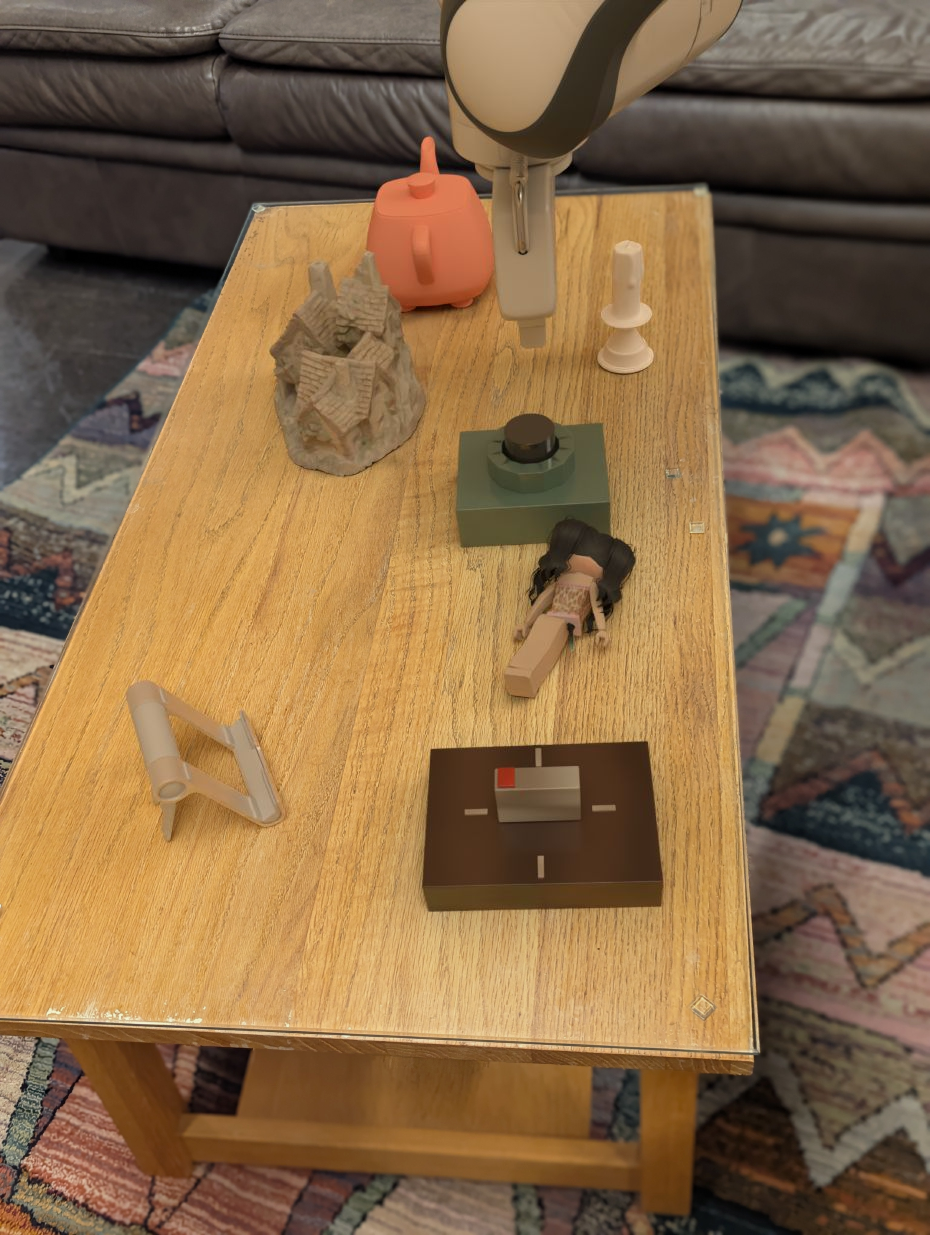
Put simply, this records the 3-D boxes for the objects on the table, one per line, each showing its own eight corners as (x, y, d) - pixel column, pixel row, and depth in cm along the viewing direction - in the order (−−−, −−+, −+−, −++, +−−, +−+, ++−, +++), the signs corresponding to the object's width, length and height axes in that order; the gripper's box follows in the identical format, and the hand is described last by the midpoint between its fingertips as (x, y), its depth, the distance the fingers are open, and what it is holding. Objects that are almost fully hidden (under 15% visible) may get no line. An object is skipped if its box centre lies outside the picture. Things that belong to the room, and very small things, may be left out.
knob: (554, 432, 87) (554, 411, 85) (556, 463, 84) (555, 442, 83) (505, 435, 87) (503, 414, 86) (505, 466, 85) (503, 446, 83)
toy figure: (595, 715, 75) (644, 560, 83) (581, 658, 70) (635, 501, 79) (498, 702, 77) (556, 553, 86) (479, 646, 73) (542, 495, 82)
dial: (580, 798, 66) (578, 762, 64) (581, 820, 65) (580, 785, 62) (498, 800, 67) (494, 765, 64) (498, 822, 66) (493, 788, 63)
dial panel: (646, 767, 71) (648, 739, 69) (661, 906, 64) (663, 880, 62) (435, 774, 72) (430, 746, 70) (428, 912, 65) (421, 886, 63)
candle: (653, 341, 104) (657, 224, 95) (654, 373, 100) (658, 255, 92) (597, 343, 105) (596, 226, 96) (596, 375, 101) (595, 257, 92)
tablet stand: (288, 819, 71) (258, 744, 65) (173, 868, 69) (130, 796, 63) (252, 727, 76) (221, 649, 70) (145, 770, 75) (103, 694, 69)
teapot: (498, 234, 121) (489, 124, 113) (496, 332, 108) (486, 216, 99) (381, 243, 123) (363, 136, 114) (365, 341, 109) (343, 228, 100)
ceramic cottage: (325, 347, 109) (291, 211, 97) (458, 396, 102) (439, 256, 90) (222, 440, 101) (172, 306, 90) (358, 501, 94) (323, 363, 83)
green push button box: (602, 460, 93) (602, 402, 88) (610, 539, 86) (610, 481, 82) (464, 468, 94) (457, 411, 89) (460, 547, 87) (452, 490, 83)
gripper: (573, 181, 60) (581, 388, 70) (567, 44, 74) (575, 233, 84) (461, 191, 61) (485, 394, 71) (476, 53, 75) (494, 240, 85)
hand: (534, 306), depth 78 cm, fingers open, 8 cm apart
